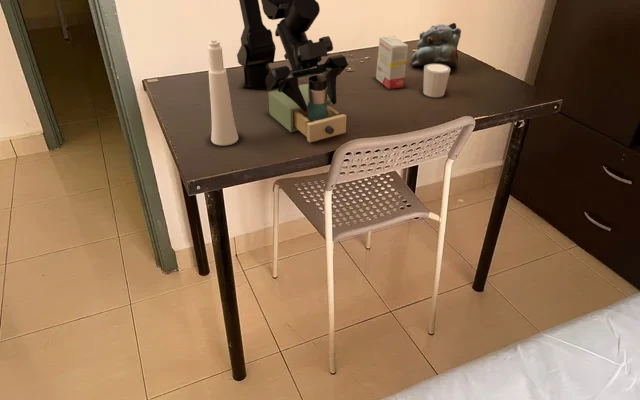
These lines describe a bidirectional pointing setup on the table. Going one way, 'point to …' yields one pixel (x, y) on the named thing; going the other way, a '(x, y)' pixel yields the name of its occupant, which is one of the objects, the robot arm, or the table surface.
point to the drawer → (320, 124)
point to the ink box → (391, 62)
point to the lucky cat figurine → (438, 46)
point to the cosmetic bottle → (220, 99)
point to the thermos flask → (317, 98)
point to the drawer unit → (287, 106)
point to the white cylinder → (435, 79)
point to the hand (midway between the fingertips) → (320, 107)
